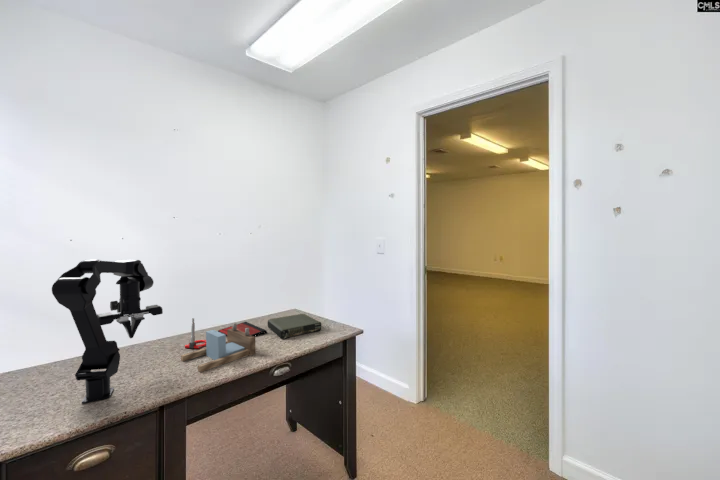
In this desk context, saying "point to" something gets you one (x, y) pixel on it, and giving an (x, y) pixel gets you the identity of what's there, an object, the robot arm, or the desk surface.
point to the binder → (241, 327)
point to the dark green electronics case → (293, 325)
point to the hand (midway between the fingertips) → (131, 337)
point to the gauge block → (219, 345)
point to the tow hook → (193, 343)
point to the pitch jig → (232, 336)
